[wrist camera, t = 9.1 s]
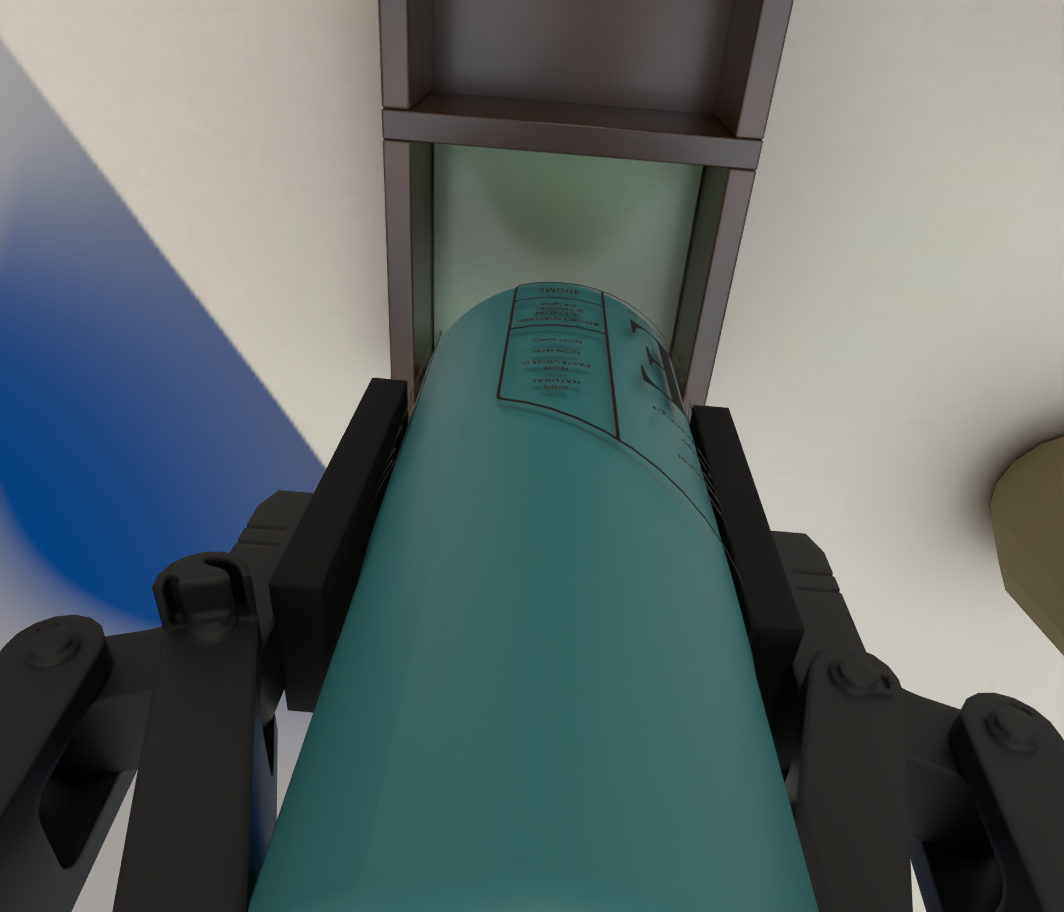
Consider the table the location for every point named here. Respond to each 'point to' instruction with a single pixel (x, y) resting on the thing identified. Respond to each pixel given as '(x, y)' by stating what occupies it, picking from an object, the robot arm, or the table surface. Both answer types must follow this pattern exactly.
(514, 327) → the beverage bottle
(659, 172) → the divided box
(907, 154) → the table surface
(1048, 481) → the squeeze bottle
